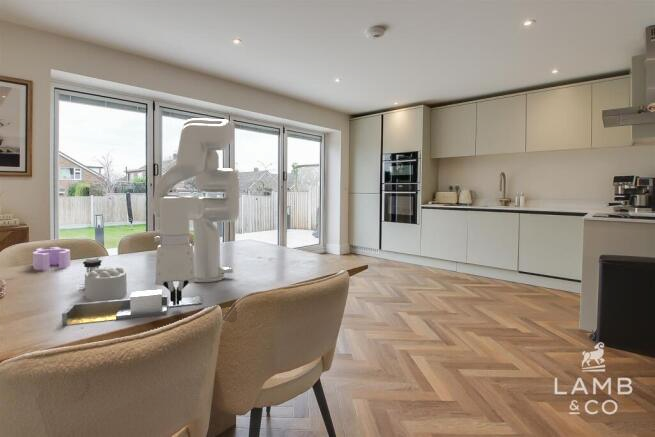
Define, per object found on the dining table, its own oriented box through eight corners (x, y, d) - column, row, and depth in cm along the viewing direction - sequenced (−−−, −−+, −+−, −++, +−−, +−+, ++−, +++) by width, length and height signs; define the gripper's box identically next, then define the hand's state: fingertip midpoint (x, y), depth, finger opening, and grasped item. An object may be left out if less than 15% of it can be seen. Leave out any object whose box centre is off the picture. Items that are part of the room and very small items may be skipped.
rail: (167, 305, 103) (167, 295, 102) (166, 314, 95) (166, 303, 95) (71, 314, 94) (71, 304, 93) (62, 325, 86) (61, 313, 86)
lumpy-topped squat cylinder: (117, 288, 119) (116, 263, 118) (133, 296, 111) (132, 269, 110) (81, 295, 111) (80, 268, 110) (96, 304, 103) (95, 275, 102)
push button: (80, 291, 115) (79, 261, 114) (77, 287, 119) (76, 258, 118) (104, 287, 120) (103, 258, 119) (100, 284, 123) (99, 256, 123)
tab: (200, 297, 111) (200, 296, 111) (201, 303, 104) (201, 302, 104) (169, 300, 107) (169, 299, 107) (169, 307, 101) (169, 306, 101)
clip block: (162, 304, 100) (162, 289, 99) (161, 310, 96) (161, 294, 95) (132, 307, 97) (132, 292, 97) (130, 313, 93) (130, 296, 92)
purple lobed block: (29, 264, 153) (28, 248, 153) (64, 260, 162) (63, 246, 162) (36, 272, 139) (35, 255, 139) (73, 267, 148) (73, 251, 148)
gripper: (144, 243, 91) (145, 310, 93) (204, 241, 97) (204, 304, 99) (146, 239, 98) (148, 302, 100) (202, 237, 104) (203, 297, 106)
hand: (176, 303), depth 99 cm, fingers closed
